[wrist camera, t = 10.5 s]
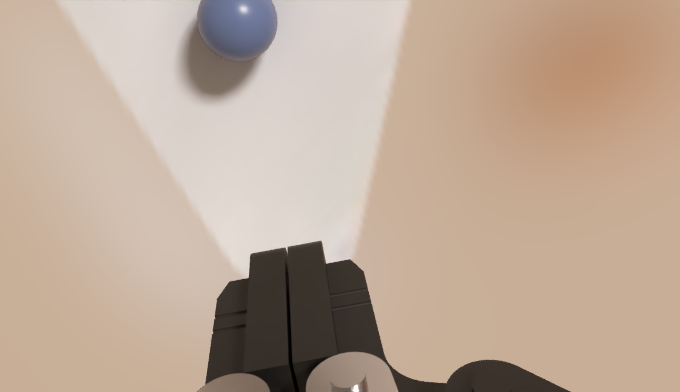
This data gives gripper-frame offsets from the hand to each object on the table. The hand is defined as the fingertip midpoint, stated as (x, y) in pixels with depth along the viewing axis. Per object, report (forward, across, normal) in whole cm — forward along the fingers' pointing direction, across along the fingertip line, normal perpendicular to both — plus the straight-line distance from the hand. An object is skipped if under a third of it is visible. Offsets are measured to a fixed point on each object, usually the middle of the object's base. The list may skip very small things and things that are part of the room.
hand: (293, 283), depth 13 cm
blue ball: (+28, +2, -1) cm, 29 cm away
